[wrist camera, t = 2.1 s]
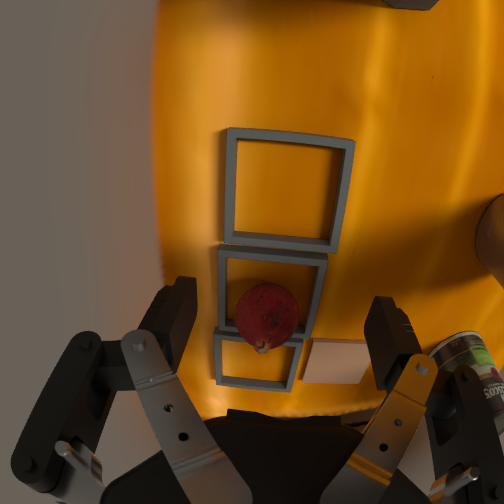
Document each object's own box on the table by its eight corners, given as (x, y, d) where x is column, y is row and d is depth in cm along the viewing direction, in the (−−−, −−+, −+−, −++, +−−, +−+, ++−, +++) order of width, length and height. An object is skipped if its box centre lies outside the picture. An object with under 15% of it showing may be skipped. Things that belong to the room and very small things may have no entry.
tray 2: (326, 253, 27) (328, 260, 26) (309, 331, 32) (309, 338, 31) (220, 243, 28) (217, 249, 27) (220, 322, 33) (218, 330, 32)
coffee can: (453, 324, 30) (494, 413, 18) (492, 336, 31) (529, 410, 19) (407, 375, 35) (429, 460, 23) (451, 381, 36) (474, 453, 24)
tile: (377, 340, 32) (378, 344, 32) (358, 380, 36) (359, 383, 36) (313, 338, 33) (313, 341, 32) (301, 378, 37) (301, 382, 36)
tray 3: (303, 335, 33) (303, 343, 32) (290, 385, 38) (290, 392, 37) (215, 326, 33) (213, 334, 32) (217, 377, 38) (216, 384, 37)
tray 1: (352, 139, 22) (355, 141, 21) (334, 247, 27) (336, 253, 26) (229, 127, 23) (227, 128, 22) (226, 237, 28) (224, 243, 27)
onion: (260, 257, 28) (252, 312, 21) (309, 286, 29) (314, 344, 22) (230, 297, 31) (215, 354, 24) (276, 321, 32) (272, 379, 25)
